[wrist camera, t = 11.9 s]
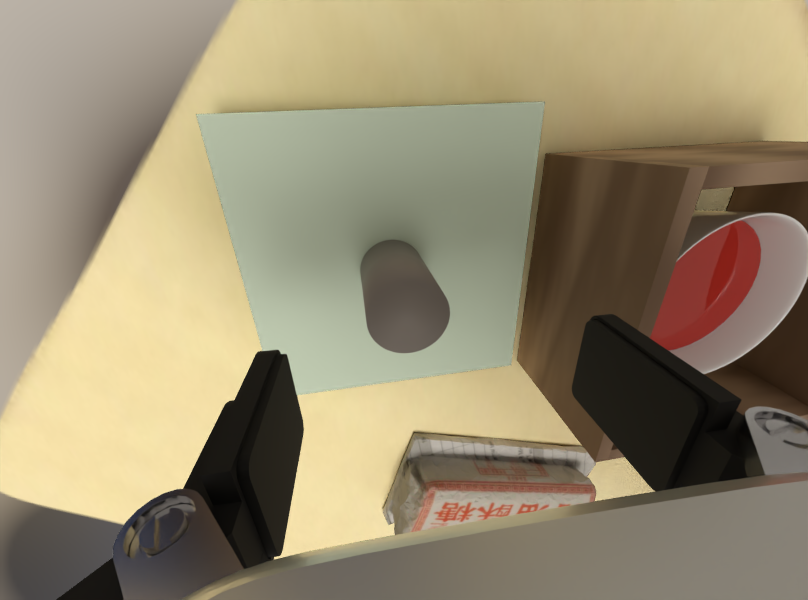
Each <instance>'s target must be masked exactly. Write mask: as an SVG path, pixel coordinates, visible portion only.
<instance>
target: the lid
mask: <svg viewBox="0 0 808 600" xmlns="http://www.w3.org/2000/svg"><path fill="white" fill-rule="evenodd" d="M544 106H545V102H517V103H490V104H463V105H435V106H408V107H381V108H353V109H326V110H299V111H271V112H244V113H217V114H196V116H197V120H198V123H199V127H200V130H201V134H202V137H203V141H204V144H205V148H206V152H207V155H208V159H209V162H210V166H211V169H212V173H213V176H214V180H215V183H216V187H217V191H218V194H219V198H220V201H221V205H222V208H223V212H224V215H225V219H226V223H227V226H228V230H229V233H230V237H231V240H232V244H233V247H234V251H235V255H236V258H237V262H238V265H239V269H240V272H241V276H242V279H243V283H244V287H245V290H246V294H247V297H248V301H249V304H250V308H251V311H252V315H253V319H254V322H255V326H256V329H257V333H258V336H259V340H260V343H261V347H262V351H269V350H279V351H280V353H281V354H287V356H288V360H289V364H290V369H291V373H292V377H293V381H294V386H295V390H296V394H297V395H302V394H309V393H316V392H323V391H331V390H338V389H345V388H352V387H359V386H366V385H373V384H380V383H388V382H395V381H402V380H409V379H416V378H423V377H430V376H438V375H445V374H452V373H459V372H466V371H473V370H480V369H488V368H495V367H502V366H509V365H511V362H512V354H513V346H514V339H515V331H516V323H517V315H518V308H519V300H520V292H521V284H522V276H523V269H524V261H525V253H526V245H527V238H528V230H529V222H530V214H531V207H532V199H533V191H534V183H535V175H536V168H537V160H538V152H539V144H540V137H541V129H542V121H543V113H544Z"/></svg>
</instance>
